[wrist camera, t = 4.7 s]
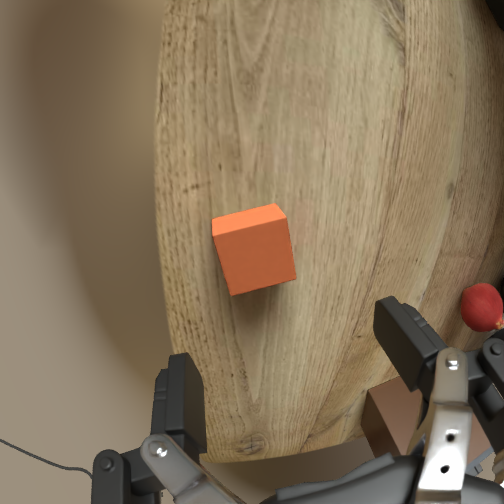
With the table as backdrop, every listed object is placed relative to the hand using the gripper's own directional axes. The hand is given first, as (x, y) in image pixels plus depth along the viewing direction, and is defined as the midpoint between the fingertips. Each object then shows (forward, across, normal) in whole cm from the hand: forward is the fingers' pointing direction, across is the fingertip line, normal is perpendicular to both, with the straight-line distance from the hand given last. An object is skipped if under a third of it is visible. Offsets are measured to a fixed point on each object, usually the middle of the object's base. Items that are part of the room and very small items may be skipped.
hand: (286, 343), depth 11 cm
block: (+11, 0, 0) cm, 11 cm away
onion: (+11, -25, +14) cm, 31 cm away
